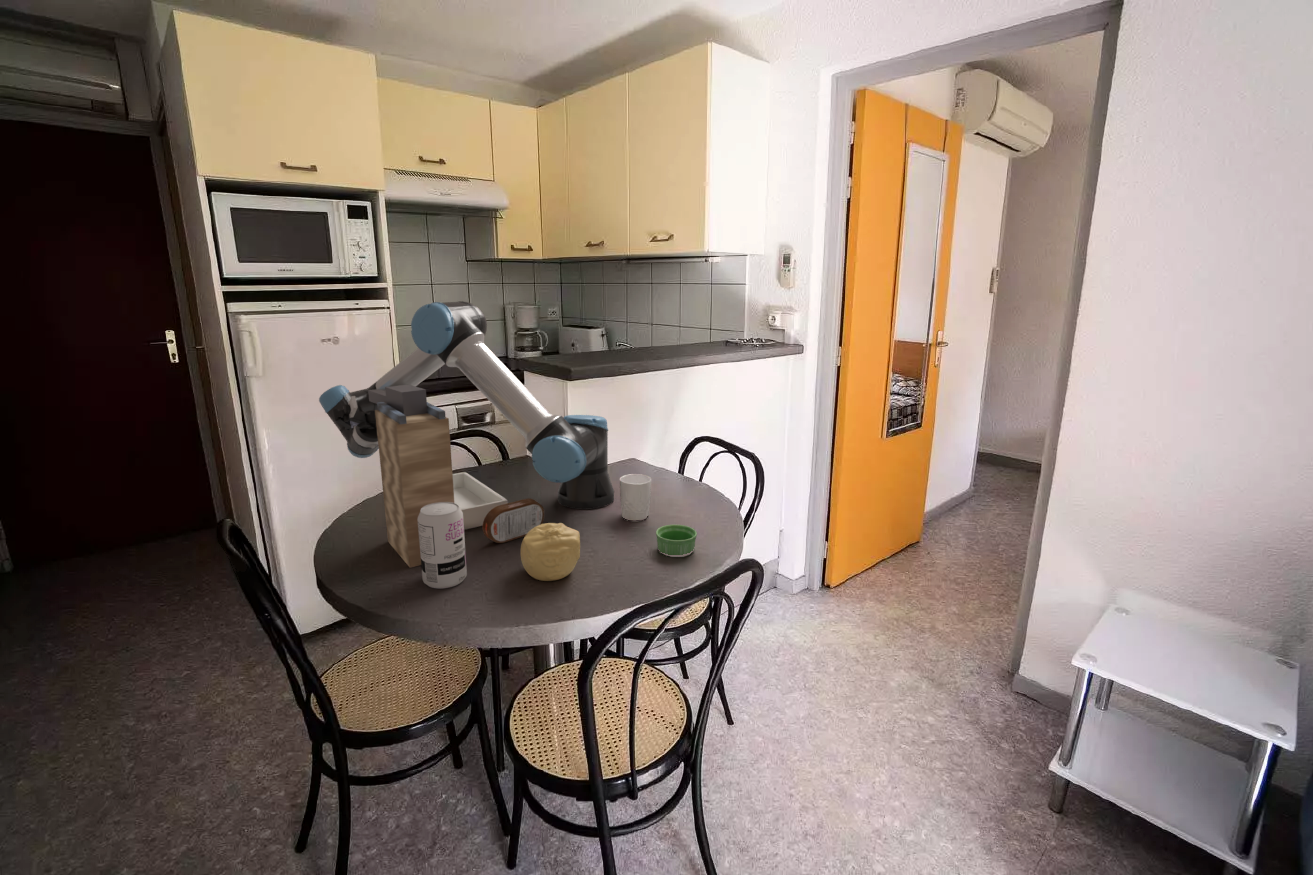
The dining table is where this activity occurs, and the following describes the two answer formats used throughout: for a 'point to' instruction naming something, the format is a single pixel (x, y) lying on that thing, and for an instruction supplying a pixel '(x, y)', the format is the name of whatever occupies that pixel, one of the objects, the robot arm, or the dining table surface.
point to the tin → (512, 520)
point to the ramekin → (676, 539)
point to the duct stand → (412, 472)
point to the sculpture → (550, 551)
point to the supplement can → (442, 545)
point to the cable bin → (474, 499)
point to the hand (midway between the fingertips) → (387, 398)
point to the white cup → (635, 496)
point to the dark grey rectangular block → (402, 399)
